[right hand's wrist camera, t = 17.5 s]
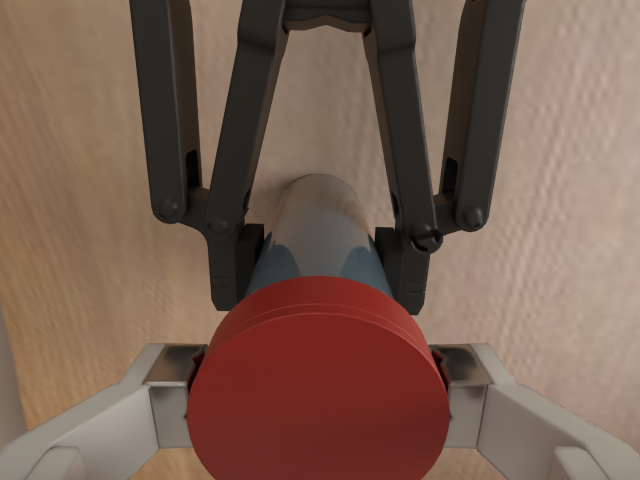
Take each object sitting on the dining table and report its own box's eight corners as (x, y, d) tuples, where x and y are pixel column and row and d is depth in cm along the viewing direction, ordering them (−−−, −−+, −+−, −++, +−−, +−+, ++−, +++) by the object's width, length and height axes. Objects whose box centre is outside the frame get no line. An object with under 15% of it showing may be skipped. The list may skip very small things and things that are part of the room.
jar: (260, 227, 23) (175, 429, 10) (305, 156, 22) (282, 271, 8) (331, 269, 24) (345, 508, 10) (378, 203, 23) (468, 379, 9)
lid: (299, 488, 12) (296, 551, 10) (159, 357, 10) (129, 407, 8) (471, 393, 10) (498, 447, 9) (343, 227, 9) (348, 257, 7)
